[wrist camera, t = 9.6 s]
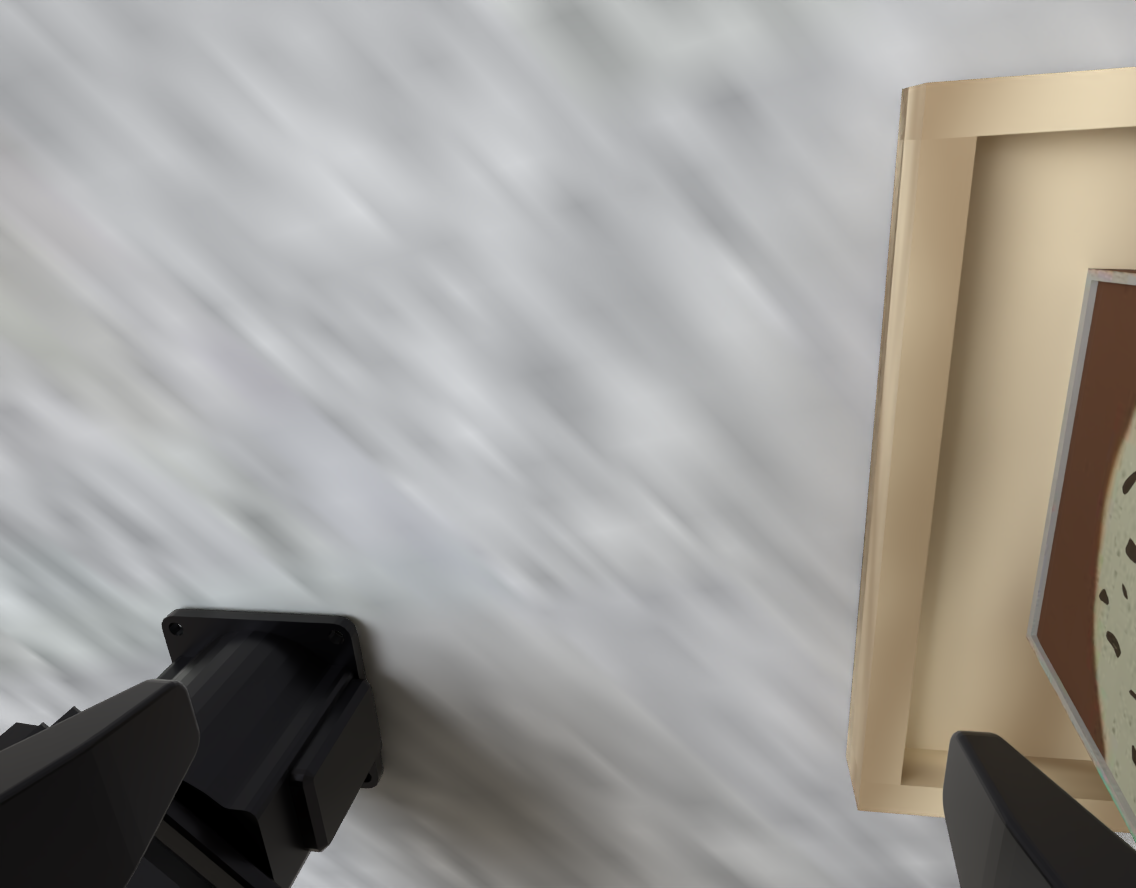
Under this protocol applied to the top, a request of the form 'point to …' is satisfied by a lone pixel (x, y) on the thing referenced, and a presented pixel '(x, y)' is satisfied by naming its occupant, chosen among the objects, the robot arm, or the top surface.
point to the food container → (1095, 541)
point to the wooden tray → (979, 419)
